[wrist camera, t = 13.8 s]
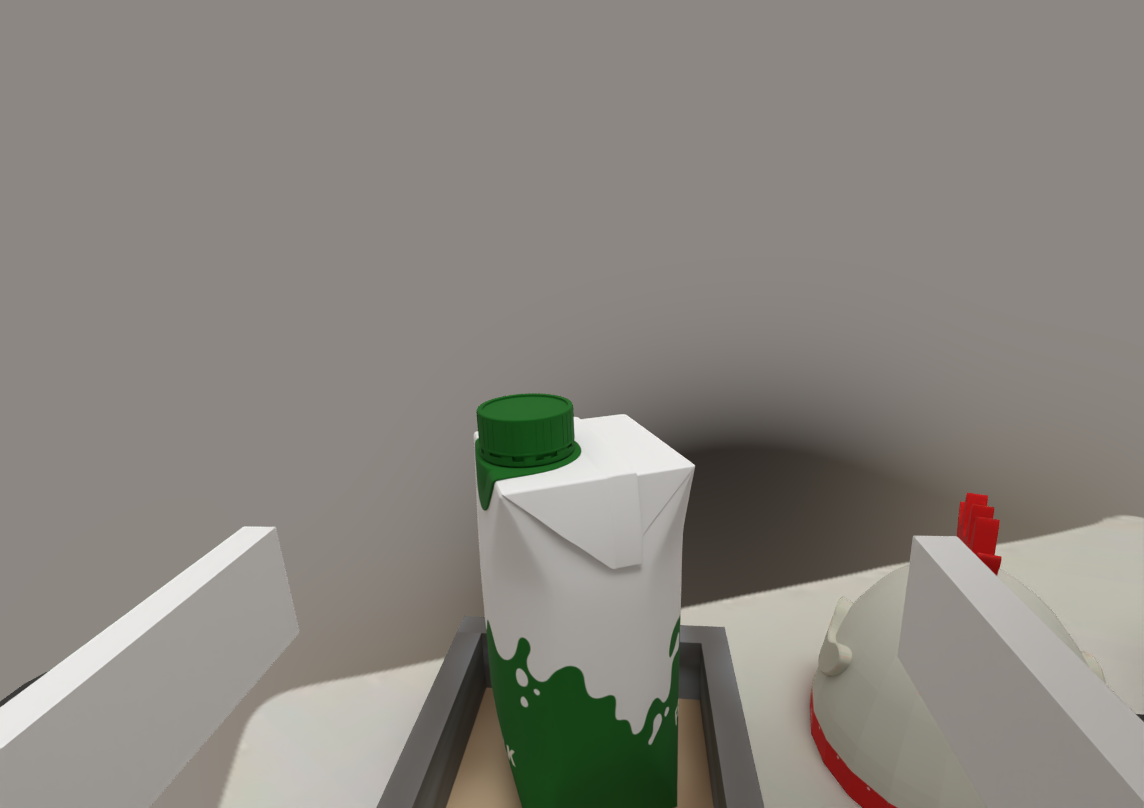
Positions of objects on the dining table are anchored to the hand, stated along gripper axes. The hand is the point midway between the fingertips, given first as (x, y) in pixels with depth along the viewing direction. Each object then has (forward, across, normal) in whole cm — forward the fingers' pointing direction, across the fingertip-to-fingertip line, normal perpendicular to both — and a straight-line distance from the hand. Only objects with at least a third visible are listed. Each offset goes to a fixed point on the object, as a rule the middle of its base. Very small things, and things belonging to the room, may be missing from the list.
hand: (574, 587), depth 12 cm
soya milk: (+13, -2, -20) cm, 24 cm away
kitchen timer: (+17, +18, -22) cm, 34 cm away
